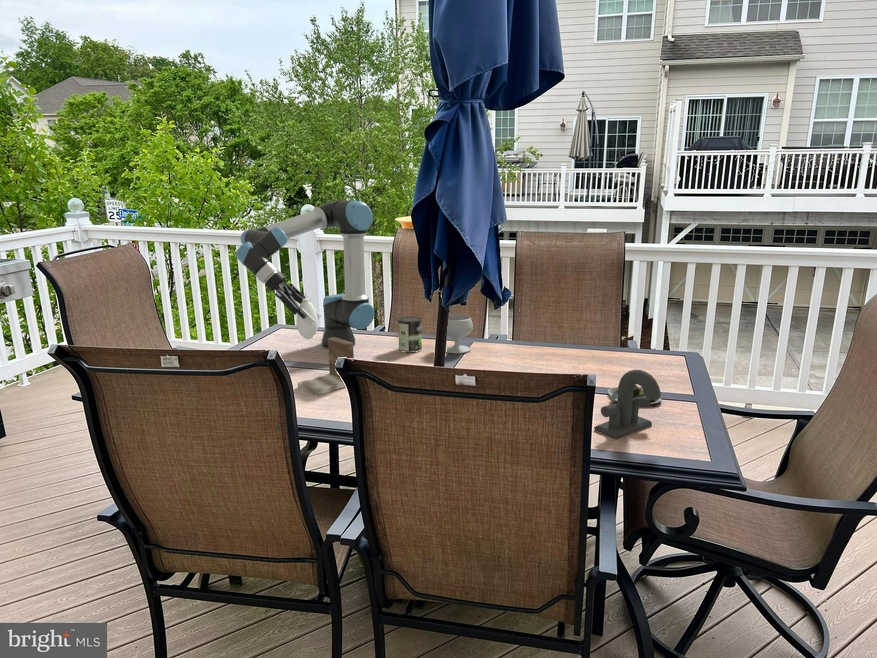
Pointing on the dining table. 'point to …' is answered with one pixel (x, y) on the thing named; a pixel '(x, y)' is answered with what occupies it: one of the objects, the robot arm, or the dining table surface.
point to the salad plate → (636, 393)
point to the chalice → (458, 331)
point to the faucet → (629, 405)
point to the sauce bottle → (302, 325)
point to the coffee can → (410, 334)
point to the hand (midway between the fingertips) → (315, 320)
